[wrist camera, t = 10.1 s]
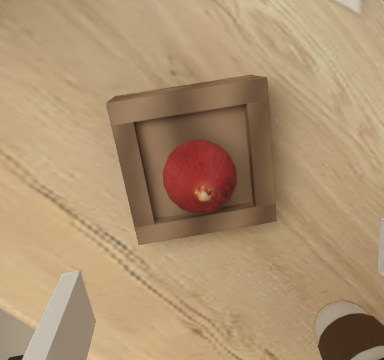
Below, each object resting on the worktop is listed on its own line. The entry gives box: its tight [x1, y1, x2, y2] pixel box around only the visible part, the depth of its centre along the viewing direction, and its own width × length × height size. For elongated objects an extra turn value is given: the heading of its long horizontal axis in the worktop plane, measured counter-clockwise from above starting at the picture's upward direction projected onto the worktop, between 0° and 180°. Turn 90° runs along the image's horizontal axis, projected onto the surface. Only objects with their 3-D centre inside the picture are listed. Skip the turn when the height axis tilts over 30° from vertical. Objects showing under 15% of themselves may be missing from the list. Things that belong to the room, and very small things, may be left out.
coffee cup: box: [314, 301, 384, 360], centre depth 37 cm, size 11×11×12 cm
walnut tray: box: [106, 75, 277, 245], centre depth 32 cm, size 13×13×5 cm
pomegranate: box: [163, 140, 237, 214], centre depth 26 cm, size 6×6×8 cm
